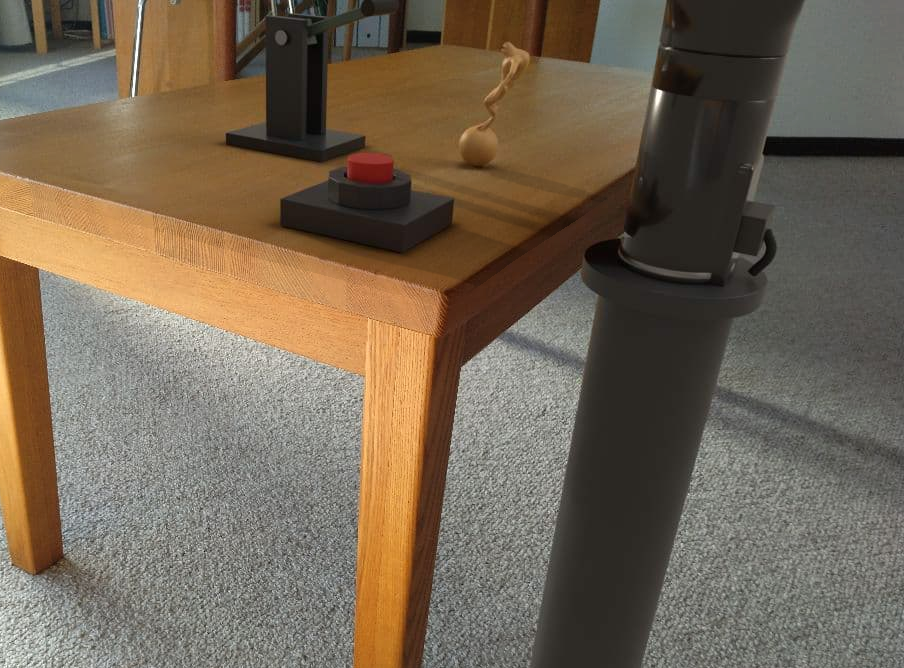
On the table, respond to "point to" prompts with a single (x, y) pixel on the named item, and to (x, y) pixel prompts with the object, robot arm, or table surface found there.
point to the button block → (368, 211)
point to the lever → (351, 17)
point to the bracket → (296, 96)
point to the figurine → (492, 110)
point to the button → (370, 168)
